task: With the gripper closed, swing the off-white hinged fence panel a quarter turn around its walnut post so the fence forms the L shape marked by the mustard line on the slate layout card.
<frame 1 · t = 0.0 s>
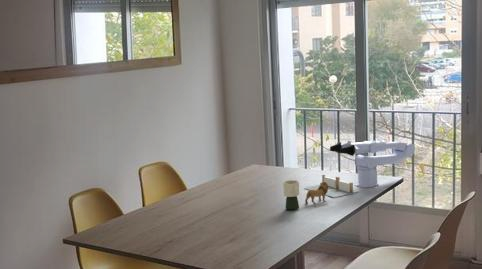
hand: (335, 149, 301), 22 cm above the table, tool horizontal, fingers open, 7 cm apart
layout card: (331, 190, 308), on the table
hinged fence panel: (329, 180, 315), point 3 cm above the table, hinge at 0.0°
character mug: (292, 209, 280), on the table
lion figurine: (317, 202, 289), on the table
fixed fence panel: (337, 189, 310), resting on layout card
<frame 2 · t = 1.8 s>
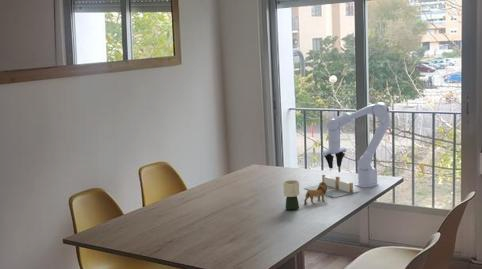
hand: (334, 167, 318), 9 cm above the table, tool pointing down, fingers open, 5 cm apart
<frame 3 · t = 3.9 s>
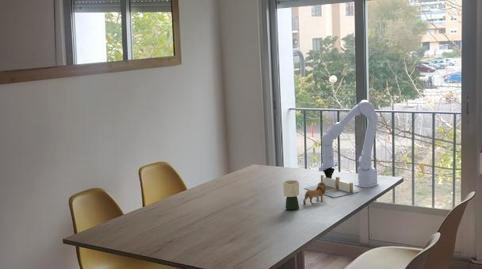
hand: (328, 182, 316), 2 cm above the table, tool pointing down, fingers closed, pressing on hinged fence panel
hinged fence panel: (328, 181, 315), point 3 cm above the table, hinge at 5.3°, touching gripper
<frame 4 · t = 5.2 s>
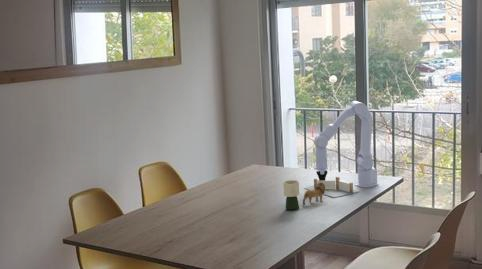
hand: (322, 184, 312), 2 cm above the table, tool pointing down, fingers closed, pressing on hinged fence panel
hinged fence panel: (324, 183, 310), point 3 cm above the table, hinge at 51.3°, touching gripper
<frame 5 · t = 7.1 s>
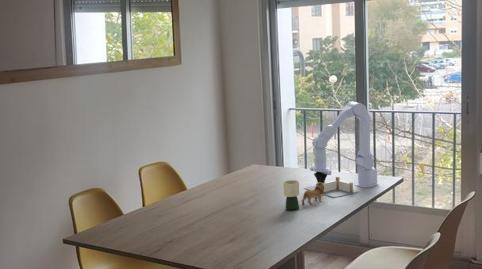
hand: (321, 186, 308), 2 cm above the table, tool pointing down, fingers closed
hinged fence panel: (328, 185, 306), point 3 cm above the table, hinge at 93.8°
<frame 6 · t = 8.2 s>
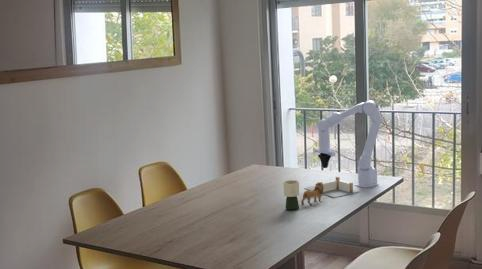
hand: (325, 167, 318), 9 cm above the table, tool pointing down, fingers closed
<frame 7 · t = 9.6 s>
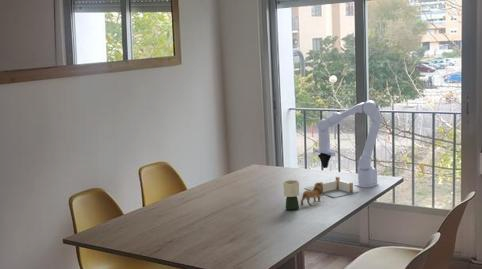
hand: (325, 167, 318), 9 cm above the table, tool pointing down, fingers closed
at the end: hinged fence panel at +94° (first picture: +0°); lion figurine moved 2.9 cm from its start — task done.
